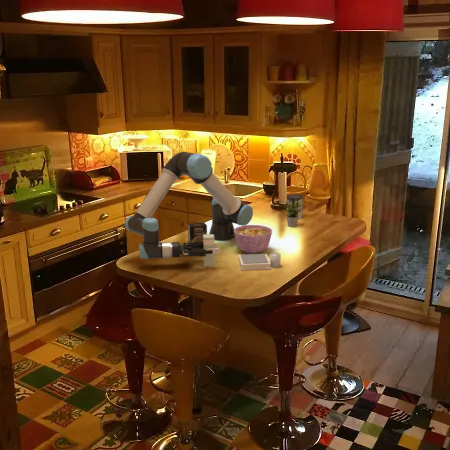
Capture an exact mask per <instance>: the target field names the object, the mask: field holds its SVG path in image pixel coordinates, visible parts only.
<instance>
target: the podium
mask: <svg viewBox="0 0 450 450" xmlns="http://www.w3.org/2000/svg"><path fill="white" fill-rule="evenodd" d="M238 263H239V267H240V270H241V271H242V272H244V271H265V270H267V271H269V270H271V268H272V267H271V263H270V258H269V257H268V254H267V253H257V254H249V253H246V254H238Z"/></svg>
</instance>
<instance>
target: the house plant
mask: <svg viewBox="0 0 450 450" xmlns="http://www.w3.org/2000/svg"><path fill="white" fill-rule="evenodd" d="M297 202H298V201H297ZM297 202H296V201H295V204H294V206H293V203H292V200H291V203H292V204H291V207H290V204H289V203H288V202H287V200H286V204H285V203H283V205H284V206H285V207H286V209H282V211H283V212H286V213H287V212H288V213H289V215H287V214H286V222H287V227H289V228H296V227H297V225H298V221H299V219H298V216H297V214H298V213H297V212H301V210H300V209H298V208H299V207H300V206H301V204H300V205H299V206H297V207H296V205H297ZM287 204H288V206H287ZM302 204H303V205H304V202H303V203H302ZM287 208H288V210H287ZM295 208H296V209H295ZM296 213H297V214H296ZM301 213H302V214H303V211H302V212H301Z"/></svg>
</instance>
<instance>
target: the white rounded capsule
mask: <svg viewBox="0 0 450 450" xmlns="http://www.w3.org/2000/svg"><path fill="white" fill-rule="evenodd" d="M269 257H270V258H269V261H270V263H271V268H273V269H279V268H280V267H281V262H282V261H281V257H282V256H281V253H279V252H272V253H271V252H270V254H269Z"/></svg>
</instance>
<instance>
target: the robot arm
mask: <svg viewBox="0 0 450 450" xmlns="http://www.w3.org/2000/svg"><path fill="white" fill-rule="evenodd" d="M212 165H213V164H212V161H211V160H210V158H209V157H207V156H206V155H204V154H201V153H195V152H194V153H193V152H189V151H180V152H177V153H176V154H174V155H173V156H172V157H171V158H169V160H168V161H167V162H166V163H165V164H164V166H163V167H162V169H161V171H162V172H161V174H160V175H159V177H158V179H157V180H156V181H155V183H154V184H153V186H152V187H151V189H150V191H148V193H147V195H146V196H145V198H144V200H143V201H142V202H141V204H140V205H139V206H138V208H137V209H136V212H135V213H134V214H133V215H129V216H128V217H126V219H125V221H124V227H125V229H126V230H127V231H129V232H131V233H133V234H137V235H138V236H141V237H142V243H139V244H138V245H139V246H138V251H139V258H140V259H149V260H150V259H165V260H166V259H169V258H173V259H176V258H177V259H178V258H181V255H183V257H203V258H204V257H205V256H206V255H207V254H214V255H220V252H221V251H220V248H219V242H214V248H212V249H206V250H205V249H202V248H204V247H203V242H193V243H188V242H183V244H182V245H181V243H180V242H179V241H173V242H172V243H171V241H168V242H160V239H159V233H160V232H159V229H160V228H159V221H158V219H157V218H155V217H152V216H153V215H154V213H155V212H156V210H157V209H158V207H159V205H160V204H161V202H162V201H163V200H164V198H165V197H166V195H167V194H168V192H169V190H170V189H171V187H172V186H173V184H174V183H175V182H176V181H179V179H180V178H181V177H182V176H187V177H188V178H189V179H191V180H192V182H194V184H196V185H201V187H203V189H204V190H206V192H207V193H208V194H209V195H210V196H211V197H212V201H211V226H210V229H209V233H208V234H214V241H230V240H233V239H236V238H235V234H234V229H235V227H234V224H235V225H238V226H245V225H248V224H249V223H250V222H251V221H252V218H253V216H254V215H253V214H254V210H253V207H252V206H251V205H249V204H248V203H247V204H246V203H244V201H243V200H242V199H241V198H240V197H238V196H234V195H233V193H232V192H231V191H230V190H229V189H228V188H227V186H225V185H224V183H223V182H222V181H221V180H220V179H219V178H218V177H217V176H216V175H215V174H214V173H213V172H214V169H213V167H212Z"/></svg>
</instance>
